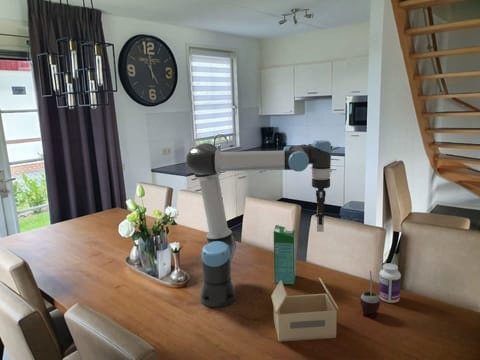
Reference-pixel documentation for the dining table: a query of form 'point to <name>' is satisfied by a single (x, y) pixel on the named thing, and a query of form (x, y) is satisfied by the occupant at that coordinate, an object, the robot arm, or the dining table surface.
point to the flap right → (329, 293)
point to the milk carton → (284, 255)
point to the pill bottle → (389, 283)
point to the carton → (305, 318)
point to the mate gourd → (370, 302)
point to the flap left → (278, 296)
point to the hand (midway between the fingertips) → (320, 226)
